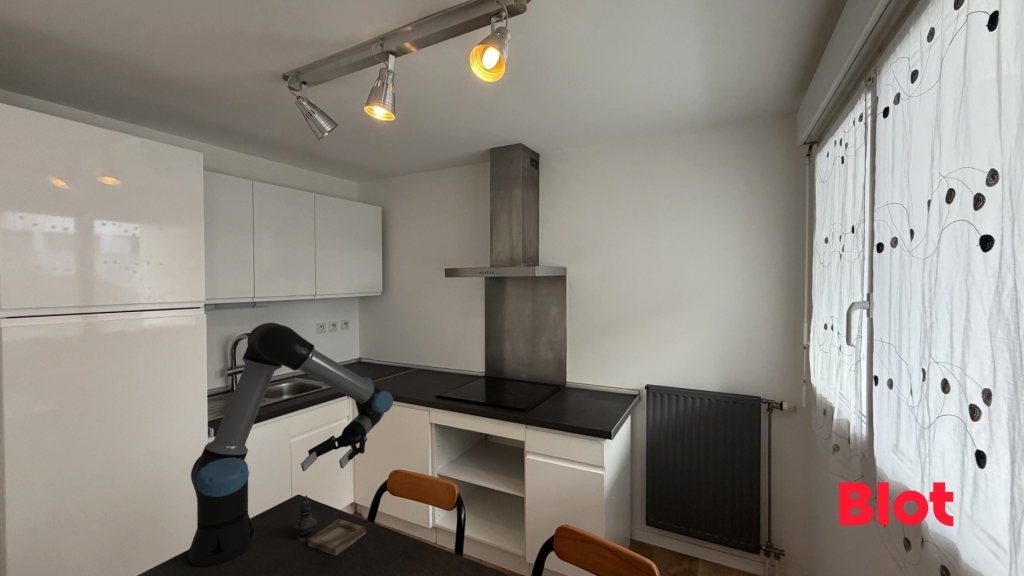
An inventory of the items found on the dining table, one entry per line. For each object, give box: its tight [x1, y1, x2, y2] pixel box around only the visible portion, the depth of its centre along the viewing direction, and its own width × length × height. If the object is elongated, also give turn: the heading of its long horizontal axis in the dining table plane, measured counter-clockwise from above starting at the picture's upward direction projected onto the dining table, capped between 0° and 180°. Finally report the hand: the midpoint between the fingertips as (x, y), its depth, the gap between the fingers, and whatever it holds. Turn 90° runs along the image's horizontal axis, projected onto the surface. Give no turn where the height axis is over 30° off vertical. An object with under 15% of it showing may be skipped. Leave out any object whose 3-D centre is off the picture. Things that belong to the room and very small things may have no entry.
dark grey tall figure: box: [294, 495, 318, 542], centre depth 117 cm, size 6×6×12 cm
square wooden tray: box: [307, 518, 367, 557], centre depth 115 cm, size 11×11×2 cm
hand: (321, 466), depth 124 cm, fingers open, 13 cm apart
